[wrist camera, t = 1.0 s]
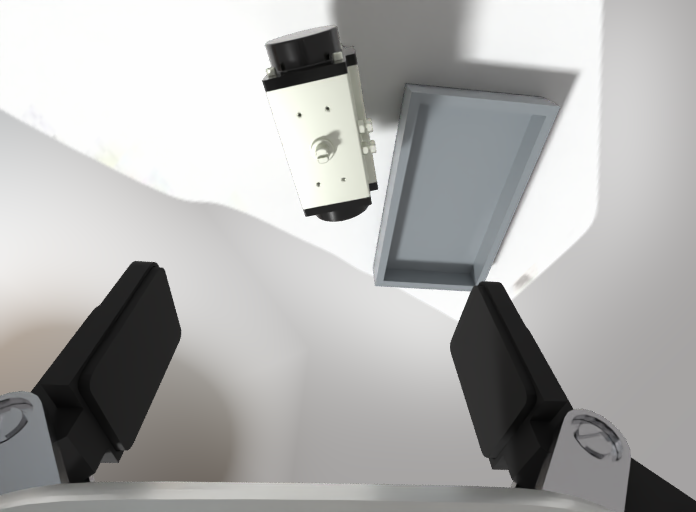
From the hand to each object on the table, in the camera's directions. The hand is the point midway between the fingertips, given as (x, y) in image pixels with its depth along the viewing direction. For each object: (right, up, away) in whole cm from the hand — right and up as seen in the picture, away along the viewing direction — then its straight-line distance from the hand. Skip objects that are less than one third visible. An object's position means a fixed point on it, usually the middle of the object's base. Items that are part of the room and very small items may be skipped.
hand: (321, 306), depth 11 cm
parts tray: (+11, +8, +25) cm, 28 cm away
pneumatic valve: (-1, +15, +20) cm, 25 cm away
